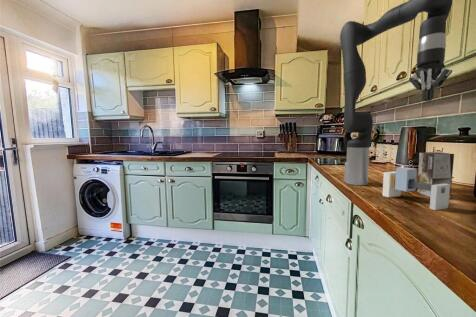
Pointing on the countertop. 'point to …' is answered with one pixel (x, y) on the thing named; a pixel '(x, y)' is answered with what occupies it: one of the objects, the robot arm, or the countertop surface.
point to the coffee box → (435, 170)
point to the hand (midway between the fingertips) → (427, 100)
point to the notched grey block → (405, 178)
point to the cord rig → (438, 191)
